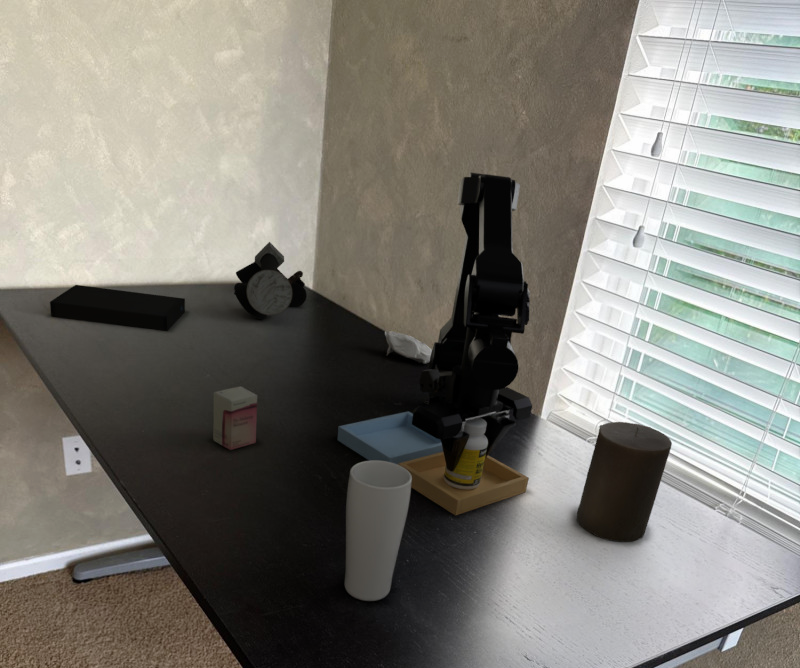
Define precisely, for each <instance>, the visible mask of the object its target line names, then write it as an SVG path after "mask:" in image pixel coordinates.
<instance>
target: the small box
mask: <svg viewBox="0 0 800 668" xmlns="http://www.w3.org/2000/svg"><path fill="white" fill-rule="evenodd" d="M212 413H213V417H212V418H213V419H212V421H213V422H212V423H213V425H212V426H213V427H212V429H213V430H212V433H213V434H212V436H213V437H212V439H213V440H212V441H213V442H215V443H217V444H219V445H220V446H222V447H224V448H226V449H228V450H230V451H232V450H235V449H239V448H243V447H247V446H250V445H253V444H256V443H257V419H258V418H257V417H258V416H257V414H258V394H256V393H254V392H252V391H250V390H248V389H246V388H245V387H243V386H235V387H230V388H226V389H222V390H217V391H213V412H212Z"/></svg>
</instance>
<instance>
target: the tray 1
mask: <svg viewBox="0 0 800 668" xmlns="http://www.w3.org/2000/svg"><path fill="white" fill-rule="evenodd" d="M412 419H413V412H411V411H409V410H408V411H404V412H399V413H394V414H389V415H384V416H380V417H376V418H370V419H366V420H361V421H358V422H357V421H356V422H353V423H347V424H343V425H339V426H338V430H337V441H338V442H340V443H341V444H342V445H344V446H345V447H347V448H349V449H351V450H352V451H353V452H355V453H357V454H358V455H360V456H361V457H363V458H365V459H366V460H367V461H371V460H378V461H386V462H391V463H394V464H397V465H398V464H399V463H403V462H406V461H409V460H413V459H417V458H421V457H425V456H428V455H432V454H436V453H440V452H443V448H442V443H441V440H440V439H437V438H435V437H433V436H431V435H429V434H428V433H426V432H424V431H422V430H421V429H419V428H417V427H415V426H414V425H412Z"/></svg>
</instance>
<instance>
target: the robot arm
mask: <svg viewBox="0 0 800 668" xmlns="http://www.w3.org/2000/svg"><path fill="white" fill-rule="evenodd" d="M520 188H521V183H519V182H516V180H515V179H512V178H511V177H510V176H503V175H496V174H488V173H478V172H472V171H471V172H469V174H468V176H463V177H462V178H461V179H460V181H459V186H458V191H457V192H458V193H457V205H459V213H460V219H461V223H462V225H463V228H464V230H465V237H464V243H463V247H462V248H463V249H462V254H461V260H460V266H459V273H458V278H457V284H456V290H455V295H454V302H453V306H452V313H451V317H450V318H449V319H448V320H447V322H446V323H444V325H443V326H442V327H441V328H440V329H439V334H438V338H437V341H434V343H433V346H432V348H431V349H432V353H431V356H430V362H429V363H428V364H429V365H428V369H423V370H421V373H420V378H419V390H420V392H421V393H423V394H428V398H429V399H428V400H425V401H423V404H421V405H418V406H416V408H414V409H413V412H412V414H413V419H412V425H414V426H415V427H417V428H419V429H421V430H422V431H424V432H426V433H428V434H429V435H431V436H433V437H435V438H437V439H440V440H441V443H442V448H443V452H444V457H445V462H446V467H447V469H448V470H449V471H451V472H453V471H454V470H455V468H456V466H457V464H458V462H459V460H460V457H461V455H462V453H463V450H464V448H465V446H466V443H467V441H468V439H469V436H470V434H468V433H466V432H464V431H463V430H464V425H465V423H466V421H467V420H471V419H475V418H482V419H484V420H485V421H486V422H487V426H486V431H485V433H484V435H485V436H486V437H487V440H488V446H487V451H486V456H485V458H486V457H487V456H489V455H490V453H491V452H492V451H493V449H494V448H495V447H496V446H497V444H498V443H499V442H500V441H501V439H502V438H503V437H504V436H505V435H506V434H507V433H508V432H509V430H511V428H512V427H515V426H516V423H517V422H516V421H515V420H517V421H521V420H525V419H529V418H531V415H532V410H533V403H532V400H531V398H530V397H529V396H527V395H525V394H523V393H520V392H519V391H517V390H514V389H512V388H510V387H508V386H510V385H511V384H512V383H514V381H515V379H516V377H518V376H517V375H518V373H519V368H520V367H519V360H518V358H517V356H516V353H515V351H514V348H513V346H512V335H513V334H525V328H526V326H528V324H529V321H530V298H531V297H530V295H531V291H530V290H529V283H528V281H525V277H524V267H523V263H522V262H521V261H520V259H519V258H518V257H517V256H516V254H515V253H514V249H513V212H515V211H517V208H518V202H519V196H520V195H519V194H520ZM515 315H516V318H514V316H515ZM510 410H511V411H512V416H513V418H514V419H515V420H513V419H511V418H510Z"/></svg>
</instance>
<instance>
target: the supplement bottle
mask: <svg viewBox="0 0 800 668" xmlns="http://www.w3.org/2000/svg"><path fill="white" fill-rule="evenodd" d="M486 426H487V422H486V421H485V420H484V419H482V418H475V419H471V420H467V421H466V423H465V425H464V430H463V431H464V432H466V433H468V434H470V436H469V439H468V441H467V443H466V446H465V448H464V450H463V453H462V455H461V457H460V460H459V462H458V464H457V466H456V468H455V470H454V471H453V472H451V471H449V470H448V469H447V467H445V473H444V480H445V482H446V483H447V484H448V485H450V486H452V487H454V488H457V489H464V490H471V489H475V488H477V487H478V486H479V484H480V480H481V475H482V470H483V466H484V461H485V456H486V451H487V446H488V440H487V437H486V436H485V435H484V433H485V431H486Z"/></svg>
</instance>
